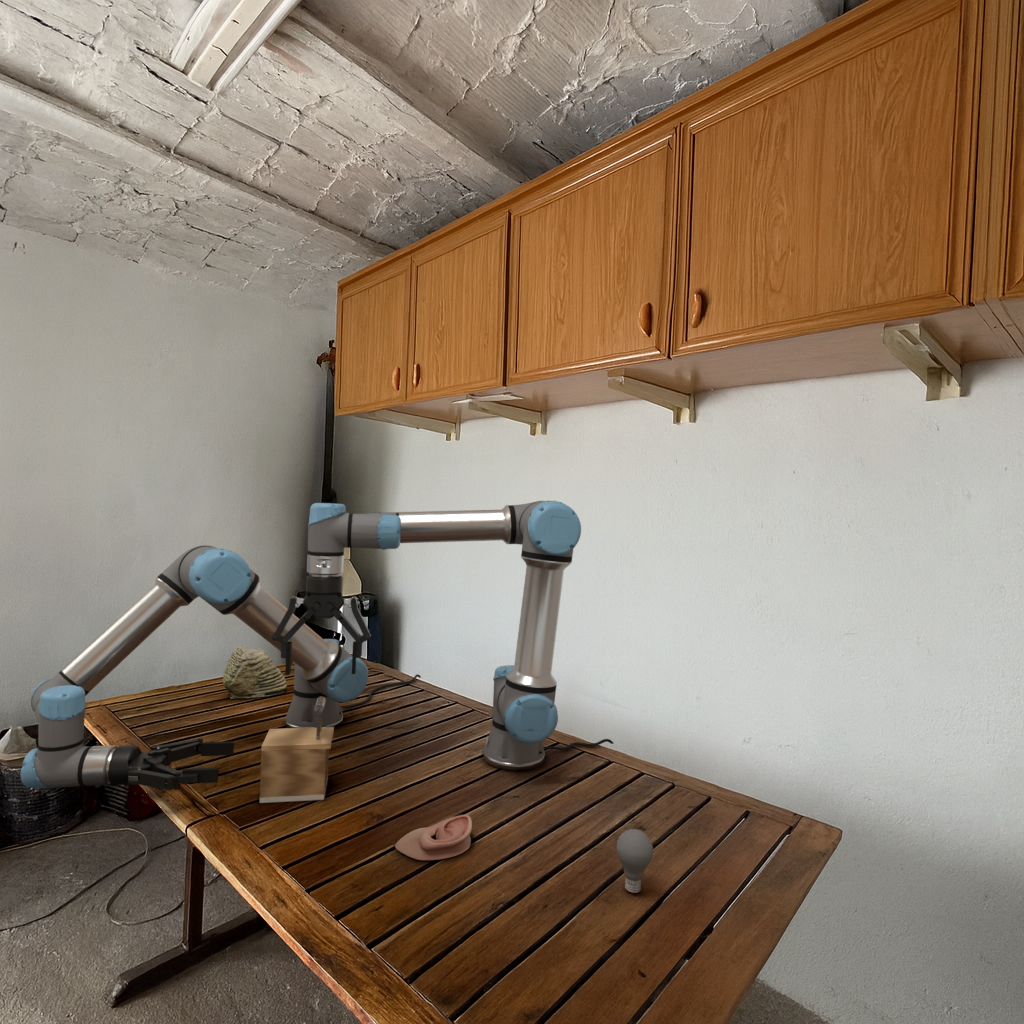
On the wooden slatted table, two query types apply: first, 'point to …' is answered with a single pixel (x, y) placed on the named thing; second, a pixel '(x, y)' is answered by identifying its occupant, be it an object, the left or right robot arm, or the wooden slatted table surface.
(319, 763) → the chest
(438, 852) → the anatomical model
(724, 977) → the wooden slatted table surface
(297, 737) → the lid
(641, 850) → the light bulb
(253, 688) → the fossil
